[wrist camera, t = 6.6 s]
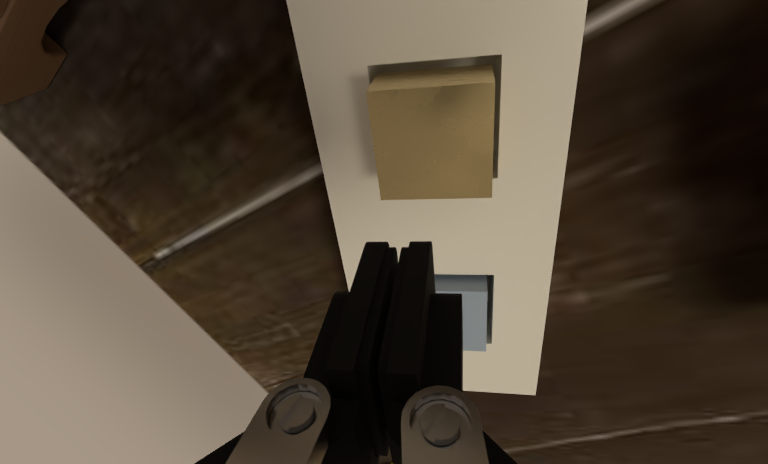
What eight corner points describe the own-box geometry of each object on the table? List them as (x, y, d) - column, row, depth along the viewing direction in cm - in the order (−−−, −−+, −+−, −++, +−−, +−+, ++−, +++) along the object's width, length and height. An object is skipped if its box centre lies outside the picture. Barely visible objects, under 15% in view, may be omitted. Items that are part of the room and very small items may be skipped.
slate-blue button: (405, 260, 27) (399, 290, 25) (485, 261, 26) (487, 291, 24) (411, 316, 30) (407, 347, 28) (484, 318, 29) (486, 351, 27)
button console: (313, -64, 21) (272, -63, 17) (570, -102, 19) (602, -114, 14) (380, 329, 37) (368, 384, 32) (526, 335, 34) (535, 395, 30)
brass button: (377, 73, 19) (365, 91, 17) (491, 63, 18) (495, 82, 16) (389, 172, 22) (380, 200, 20) (489, 169, 21) (492, 197, 19)
